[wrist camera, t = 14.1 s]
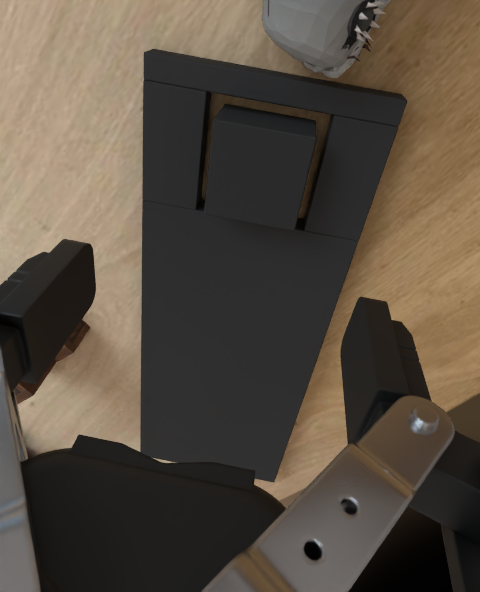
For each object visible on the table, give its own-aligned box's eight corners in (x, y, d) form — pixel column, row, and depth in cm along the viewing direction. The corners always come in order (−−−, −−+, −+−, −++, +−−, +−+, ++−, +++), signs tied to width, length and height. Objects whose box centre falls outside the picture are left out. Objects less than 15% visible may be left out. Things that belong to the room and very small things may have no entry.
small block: (224, 103, 23) (213, 118, 20) (316, 119, 23) (317, 138, 20) (215, 190, 26) (203, 215, 23) (295, 205, 26) (294, 232, 23)
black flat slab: (152, 48, 22) (143, 51, 21) (402, 94, 22) (408, 100, 20) (145, 442, 42) (140, 455, 41) (275, 468, 42) (274, 482, 40)
